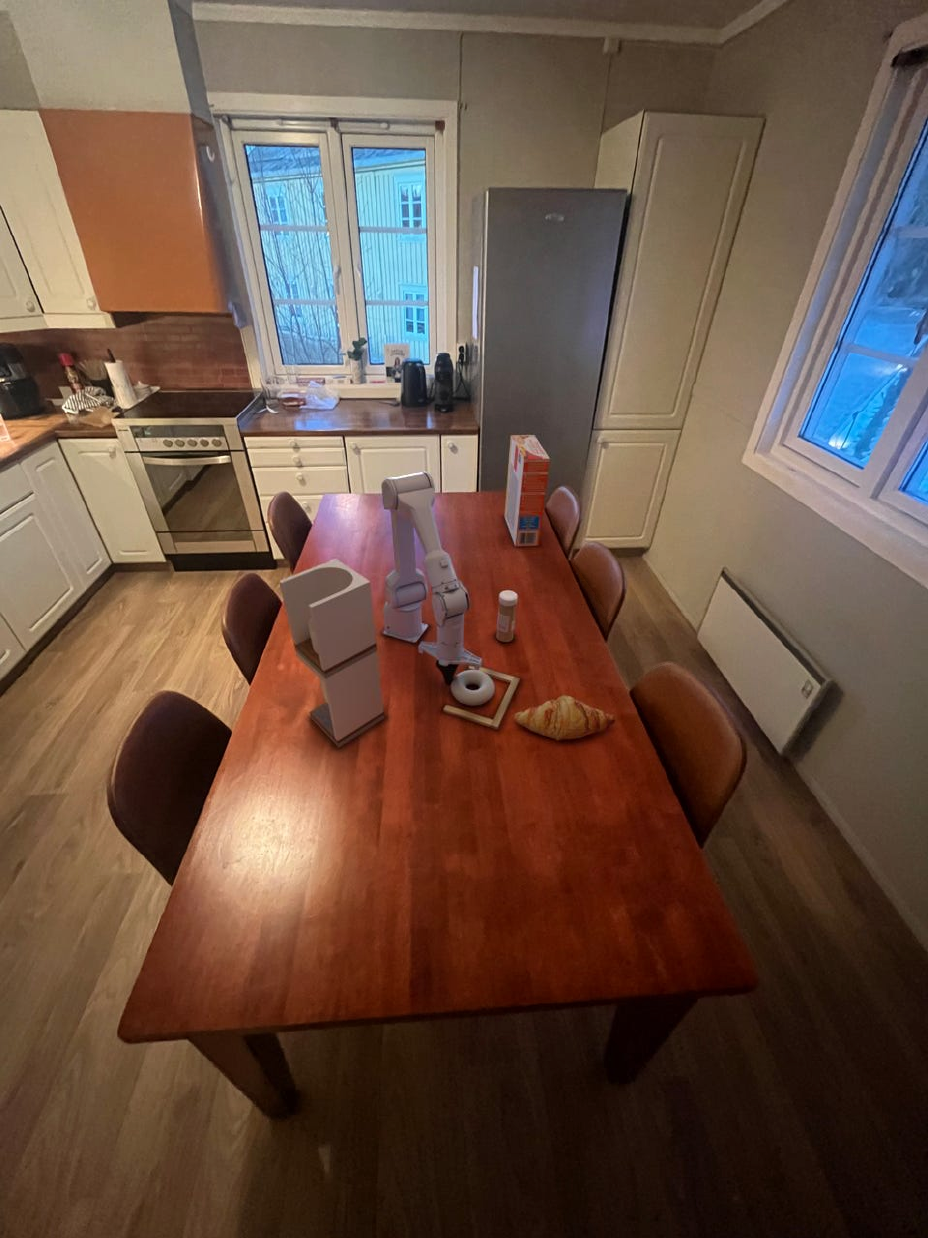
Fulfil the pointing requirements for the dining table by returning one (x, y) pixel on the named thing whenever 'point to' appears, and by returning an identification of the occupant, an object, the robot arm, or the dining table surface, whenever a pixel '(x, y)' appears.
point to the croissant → (564, 719)
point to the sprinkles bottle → (506, 615)
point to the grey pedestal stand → (337, 645)
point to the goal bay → (502, 708)
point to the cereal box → (526, 489)
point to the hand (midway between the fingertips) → (449, 682)
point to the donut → (468, 695)
